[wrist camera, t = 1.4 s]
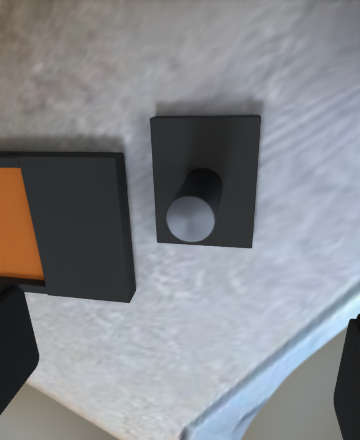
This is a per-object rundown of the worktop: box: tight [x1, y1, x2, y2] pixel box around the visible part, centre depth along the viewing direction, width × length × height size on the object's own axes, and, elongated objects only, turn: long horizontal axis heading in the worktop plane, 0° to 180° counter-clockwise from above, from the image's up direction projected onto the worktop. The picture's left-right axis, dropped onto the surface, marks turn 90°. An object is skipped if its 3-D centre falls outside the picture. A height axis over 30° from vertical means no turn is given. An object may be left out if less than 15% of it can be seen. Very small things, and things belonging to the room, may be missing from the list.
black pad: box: [150, 115, 261, 248], centre depth 20 cm, size 9×7×7 cm
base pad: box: [0, 151, 136, 303], centre depth 26 cm, size 12×16×2 cm
